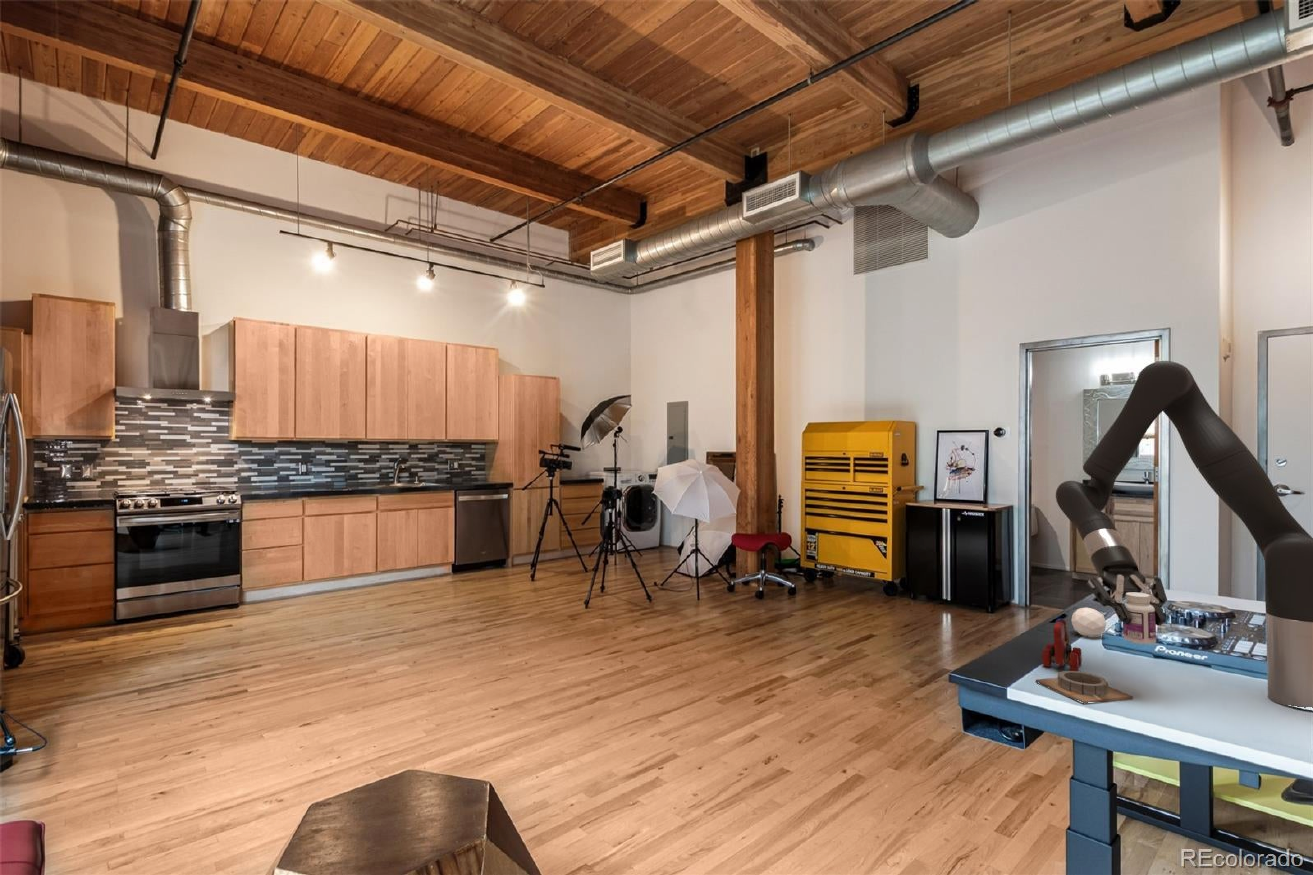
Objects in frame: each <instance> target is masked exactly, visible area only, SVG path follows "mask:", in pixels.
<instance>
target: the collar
mask: <svg viewBox="0 0 1313 875" xmlns="http://www.w3.org/2000/svg"><path fill="white" fill-rule="evenodd" d="M1036 682H1039V683H1040V684H1042V685H1044V686H1046V687H1045V688H1047V687H1049V688H1050V689H1049V688H1048V689H1049V690H1051V689H1052V690H1051V691H1053V690H1054V691H1053V692H1055V691H1057V692H1059V693H1058V694H1060V693H1061V694H1060V695H1061V696H1064V697H1066V696H1068V697H1071V698H1073V699H1076V700H1079V701H1081V702H1083V703H1088V702H1102V703H1109V701H1111V702H1117V701H1116V700H1120V701H1127V700H1128V701H1129V700H1133V699H1134V695H1131V694H1128V693H1126V692H1124V691H1122V690H1119V689H1117V688H1114V687H1112V686H1109V683H1108V680H1107V679H1106V678H1104V677H1101V676H1099V675H1098V674H1097V675H1096V674H1095V673H1094V674H1093V673H1089V672H1084V671H1080V670H1078V671H1071V670H1063V671H1060V672H1058V673H1057V677H1051V678H1049V677H1048V678H1040V679H1039V678H1038V679H1035V683H1036ZM1040 684H1039V685H1040ZM1042 685H1041V686H1042ZM1044 686H1043V687H1044ZM1057 692H1056V693H1057ZM1068 697H1067V698H1068ZM1073 699H1072V700H1073ZM1107 701H1108V702H1107Z"/></svg>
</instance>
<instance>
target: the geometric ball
mask: <svg viewBox="0 0 1313 875" xmlns="http://www.w3.org/2000/svg"><path fill="white" fill-rule="evenodd" d="M1071 624H1072V627H1073V629H1074V630H1075V631H1076V632H1077V633H1078V634H1080V636H1081V635H1082V636H1083V637H1087V636H1088V638H1090V637H1091V639H1092V638H1097V637H1100V636H1101V635H1102V634H1104V632H1105V631H1106V628H1107V627H1106V626H1107V622H1106V619H1105V616H1104V614H1102V613H1101V612H1099V611H1098V610H1096V609H1094V608H1092V607H1091V608H1090V607H1080V608H1077V609H1076V610H1075V611H1074V612H1073V613H1072V616H1071Z"/></svg>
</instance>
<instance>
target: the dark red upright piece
mask: <svg viewBox="0 0 1313 875" xmlns="http://www.w3.org/2000/svg"><path fill="white" fill-rule="evenodd" d="M1052 630H1053V643H1054V644H1053V643H1049V642H1048V643H1046V648H1043V649H1042V653H1041V658H1042V659H1041V660H1042V662H1041V663H1042V666H1044V667H1048V668H1051V667H1052V664H1053V663H1052V662H1055V665H1058V666H1065V664H1068V665H1069V671H1079V667H1080V666H1082V660H1083V657H1082V656H1083V655H1082V648H1080V647H1075V646H1074V647H1072V645H1071V644H1069V642H1070V640H1071V639H1070V637H1069V634H1068V630H1067V622H1066V621H1065V619H1063V618H1057V619H1056V620H1055V624H1054V625H1053V627H1052Z"/></svg>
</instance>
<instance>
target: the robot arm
mask: <svg viewBox="0 0 1313 875" xmlns="http://www.w3.org/2000/svg"><path fill="white" fill-rule="evenodd" d="M1162 412H1163V413H1164V414H1165V415H1166V417H1167V418H1168V419H1169V420H1170V421H1171V423H1172V424H1173V426H1174V427H1175V428H1176V431H1177V432H1178V435H1179V437H1180V440H1181V442H1182V443H1183V446H1184V448H1185V450H1186V452H1187V454H1188V456H1189V458H1190V459H1191V461H1192V463H1193V464H1194V466H1195V468H1196V469H1197V471H1198V472H1199V474H1200V475H1201V476H1202V477H1203V479H1204V480H1205V482H1206V483H1207V484H1208V486H1210V488H1211V490H1212V491H1213V492H1214V493H1215V494H1216V495H1217V496H1218V497H1219V498H1220V499H1221V501H1222V502H1223V503H1224V504H1225V505H1226V506H1227V507H1228V508H1230V511H1232V512H1233V513H1234V514H1235V515H1236V516H1237V517H1238V518H1239V519H1240V520H1241V521H1242V523H1243V524H1244V525H1245V527H1246V529H1247V530H1248V531H1249V534H1250V535H1251V536H1252V537H1253V540H1254V542H1255V543H1256V545H1257V547H1258V548H1259V550H1260V552H1261V554H1262V557H1263V559H1264V567H1265V568H1264V570H1265V572H1264V573H1265V575H1264V576H1265V602H1264V604H1265V627H1266V628H1265V629H1266V632H1265V633H1266V634H1265V636H1266V670H1267V671H1266V672H1267V675H1266V676H1267V698H1269V699H1270V700H1271V701H1273V702H1276V703H1278V704H1279V705H1280V704H1281V705H1283V706H1286V705H1291V706H1297V707H1304V708H1306V707H1312V708H1313V537H1312V536H1311V534H1309V533H1308V531H1306V530H1305V528H1304V527H1302V525H1301V524H1300V523H1299V522H1298V520H1297V519H1296V518H1294V516H1293V515H1292V514H1291V513H1290V512H1289V510H1288V509H1287V508H1286V506H1285V505H1284V504H1283V502H1282V500H1281V498H1280V497H1279V494H1278V493H1277V491H1276V488H1275V486H1274V485H1273V482H1272V481H1271V479H1270V477H1269V476H1268V475H1267V473H1266V471H1265V470H1264V468H1263V467H1262V465H1261V464H1260V462H1259V461H1258V459H1256V457H1255V456H1254V454H1253V453H1252V452H1251V451H1250V449H1249V448H1248V447H1247V445H1246V444H1245V443H1244V442H1243V441H1242V440H1241V439H1240V437H1239V435H1237V434H1236V433H1235V431H1233V430H1232V429H1231V428H1230V426H1229V425H1228V424H1227V423H1226V422H1225V421H1224V420H1223V419H1222V418H1221V417H1220V416H1219V415H1218V413H1216V412H1215V411H1214V409H1213V407H1211V405H1210V404H1209V402H1208V400H1207V399H1206V397H1205V396H1204V394H1203V392H1202V390H1201V389H1200V388H1199V386H1198V384H1197V382H1196V379H1195V377H1194V376H1193V374H1192V372H1191V371H1190V369H1188V368H1187V367H1186V366H1185V365H1183V364H1181V363H1178V362H1175V361H1171V360H1170V361H1169V360H1159V361H1156V362H1155V361H1154V362H1152V363H1150V364H1148V365H1146V366H1145V367H1144V368H1143V369H1141V371H1140V372H1139V374H1138V376H1137V379H1136V381H1135V383H1134V385H1133V387H1132V390H1131V392H1130V394H1129V396H1128V398H1127V400H1126V402H1125V404H1124V406H1123V408H1122V409H1121V411H1120V413H1118V414H1119V415H1118V416H1117V418H1116V419H1115V421H1114V422H1113V423H1112V425H1111V426H1110V427H1109V428H1108V430H1107V432H1106V433H1105V434H1104V435H1103V437H1102V438H1101V439H1100V441H1099V442H1098V444H1097V445H1096V447H1095V448H1094V449H1093V451H1092V452H1091V453H1090V455H1089V457H1087V459H1086V460H1085V462H1084V463H1083V466H1082V470H1083V471H1084V472H1085V474H1086V475H1088V476H1089V477H1090V478H1089V479H1090V480H1089V483H1088V484H1086V483H1082V482H1079V481H1076V480H1066V481H1064V482H1062V483H1060V484H1058V487H1057V488H1056V490H1055V500H1056V503H1057V505H1058V507H1059V508H1060V510H1061V512H1062V513H1063V514H1064V515H1065V517H1067V519H1068V520H1069V521H1070V522H1071V523H1072V524H1073V526H1075V528H1076V529H1077V531H1078V534H1079V536H1080V538H1081V540H1082V542H1083V544H1084V547H1085V550H1086V553H1087V555H1088V557H1089V559H1090V561H1091V564H1092V565H1093V567H1094V570H1095V571H1096V573H1097V576H1098V577H1097V576H1094V575H1093V576H1090V578H1089V580H1088V581H1087V583H1086V585H1087V587H1088V588H1089V589H1090V590H1091V592H1092V593H1093V595H1094V597H1095V598H1096V599H1097V601H1098V602H1099V603H1100V605H1101V606H1103V607H1110V608H1112V609H1113V610H1114V612H1115V614H1116V616H1117V619H1118V620H1119V621H1120V622H1121V623H1122V625H1123V624H1129V623H1130V622H1131V621H1132V619H1131V616H1130V614H1129V612H1128V610H1127V608H1126V606H1125V604H1124V603H1122V602H1123V597H1126V593H1128V592H1138V593H1145V594H1148V595H1150V602H1149V604H1150V605H1152V606H1153V607H1154V609H1155V621H1156V626H1162V625H1163V623H1164V622H1165V620H1166V616H1165V614H1164V612H1163V610H1162V607H1164V604H1165V603H1166V602H1167V601H1168V597H1167V595H1166V591H1165V588H1164V584H1163V581H1162V579H1161V578H1160V577H1158V576H1155V577H1154V578H1149V577H1145V575H1143V574H1142V573H1141V572H1140V570H1139V566H1138V564H1137V562H1136V560H1135V558H1134V556H1133V555H1132V553H1131V551H1130V549H1129V548H1128V545H1127V544H1126V542H1125V540H1124V539H1123V537H1122V536H1121V535H1120V534H1119V532H1118V530H1117V528H1116V527H1115V524H1114V522H1113V521H1112V519H1111V518H1110V516H1109V515H1108V514H1106V513H1105V512H1103V510H1104V509H1105V508H1106V506H1108V503H1109V500H1110V497H1111V494H1112V493H1113V492H1112V491H1113V489H1114V486H1115V482H1116V480H1117V478H1118V476H1119V475H1120V474H1121V473H1122V471H1123V470H1124V469H1125V467H1126V466H1127V465H1128V463H1129V462H1130V460H1131V459H1132V458H1133V456H1134V454H1135V452H1136V450H1137V449H1138V447H1139V446H1140V443H1141V442H1142V441H1143V438H1144V436H1145V435H1146V433H1147V431H1148V430H1149V428H1150V427H1151V425H1152V424H1153V423H1154V421H1155V420H1156V419H1157V417H1159V416H1160V415H1161V413H1162ZM1105 587H1106V588H1107V589H1108V590H1110V594H1109V593H1108V591H1107V590H1106V589H1105Z"/></svg>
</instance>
